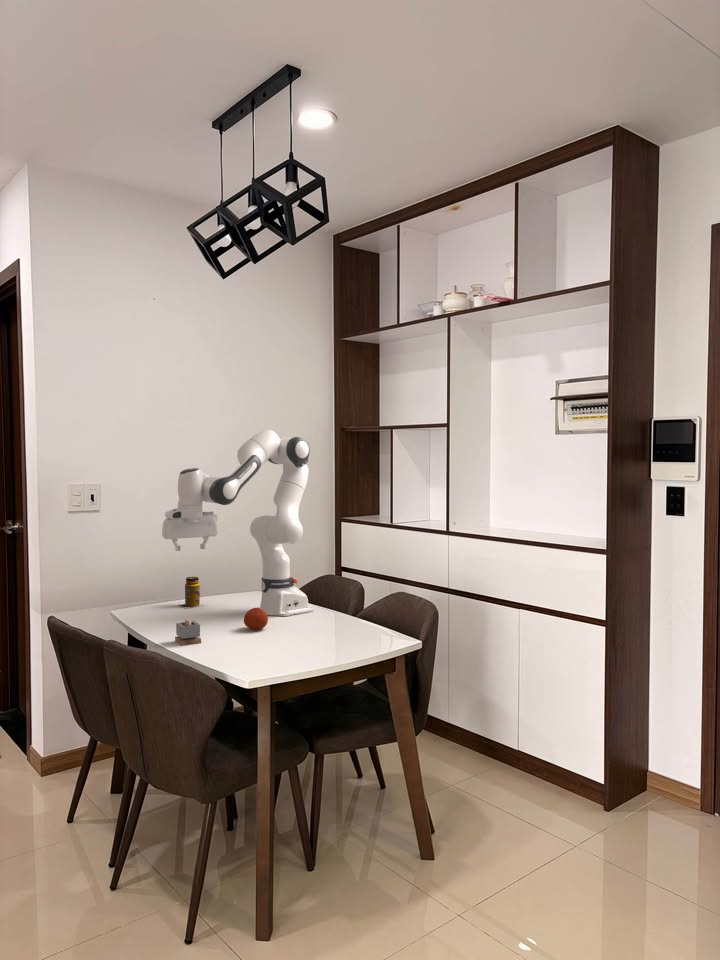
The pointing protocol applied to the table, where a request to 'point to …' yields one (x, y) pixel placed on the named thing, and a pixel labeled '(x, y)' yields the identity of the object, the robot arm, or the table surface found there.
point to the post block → (187, 640)
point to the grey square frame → (188, 630)
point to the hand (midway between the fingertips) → (190, 549)
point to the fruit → (255, 619)
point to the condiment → (192, 593)
